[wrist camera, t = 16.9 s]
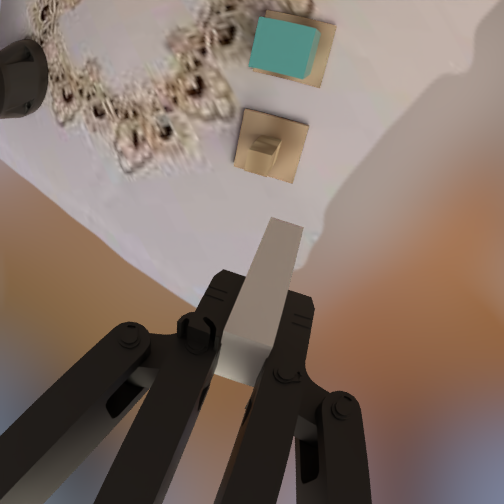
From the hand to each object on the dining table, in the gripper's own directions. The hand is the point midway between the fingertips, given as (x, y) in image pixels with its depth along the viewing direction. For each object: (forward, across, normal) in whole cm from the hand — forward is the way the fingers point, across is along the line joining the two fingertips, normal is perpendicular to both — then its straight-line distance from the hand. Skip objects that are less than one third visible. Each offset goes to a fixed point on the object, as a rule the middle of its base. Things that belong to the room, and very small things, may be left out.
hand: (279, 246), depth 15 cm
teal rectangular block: (+26, -5, +8) cm, 27 cm away
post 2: (+26, -5, -5) cm, 27 cm away
